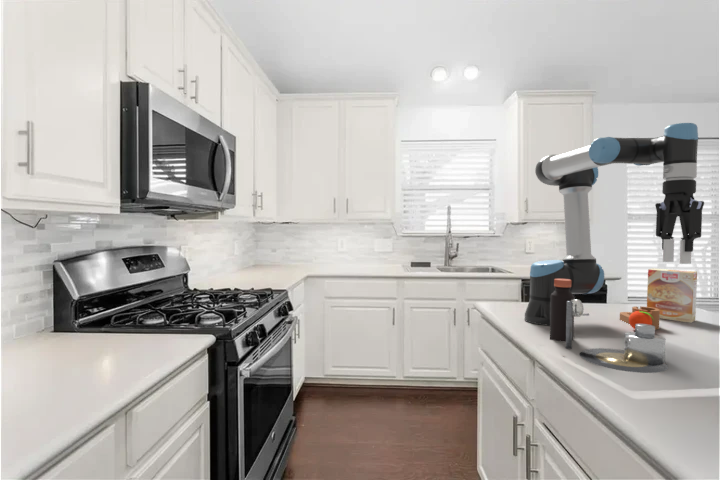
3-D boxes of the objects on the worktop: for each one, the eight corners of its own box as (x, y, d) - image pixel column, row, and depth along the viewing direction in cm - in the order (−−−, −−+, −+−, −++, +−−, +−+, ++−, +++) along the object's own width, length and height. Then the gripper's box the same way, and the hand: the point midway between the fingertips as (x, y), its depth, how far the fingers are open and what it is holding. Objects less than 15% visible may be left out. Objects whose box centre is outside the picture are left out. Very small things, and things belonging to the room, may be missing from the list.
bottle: (550, 343, 131) (551, 280, 130) (549, 338, 137) (550, 277, 136) (574, 346, 128) (576, 281, 127) (572, 340, 134) (573, 278, 134)
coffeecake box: (646, 316, 171) (647, 269, 170) (650, 314, 175) (652, 267, 175) (692, 323, 160) (694, 272, 159) (695, 320, 164) (697, 270, 164)
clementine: (659, 332, 146) (660, 312, 145) (647, 334, 142) (648, 313, 142) (635, 327, 153) (636, 308, 152) (624, 329, 150) (624, 309, 149)
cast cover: (616, 353, 117) (617, 321, 116) (646, 353, 118) (647, 321, 117) (641, 364, 108) (642, 330, 108) (673, 363, 109) (674, 329, 109)
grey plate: (564, 353, 121) (564, 349, 121) (628, 351, 123) (628, 347, 123) (613, 378, 101) (613, 373, 101) (688, 375, 103) (688, 371, 103)
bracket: (663, 330, 149) (664, 311, 149) (638, 329, 150) (639, 310, 150) (638, 319, 167) (638, 302, 166) (615, 318, 168) (616, 301, 168)
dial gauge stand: (557, 349, 124) (558, 298, 124) (582, 349, 125) (583, 297, 125) (567, 355, 120) (568, 301, 119) (593, 354, 120) (594, 300, 120)
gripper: (642, 182, 126) (639, 259, 127) (696, 176, 108) (693, 265, 109) (664, 183, 127) (662, 259, 128) (722, 176, 109) (718, 265, 110)
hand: (676, 262), depth 118 cm, fingers open, 5 cm apart
